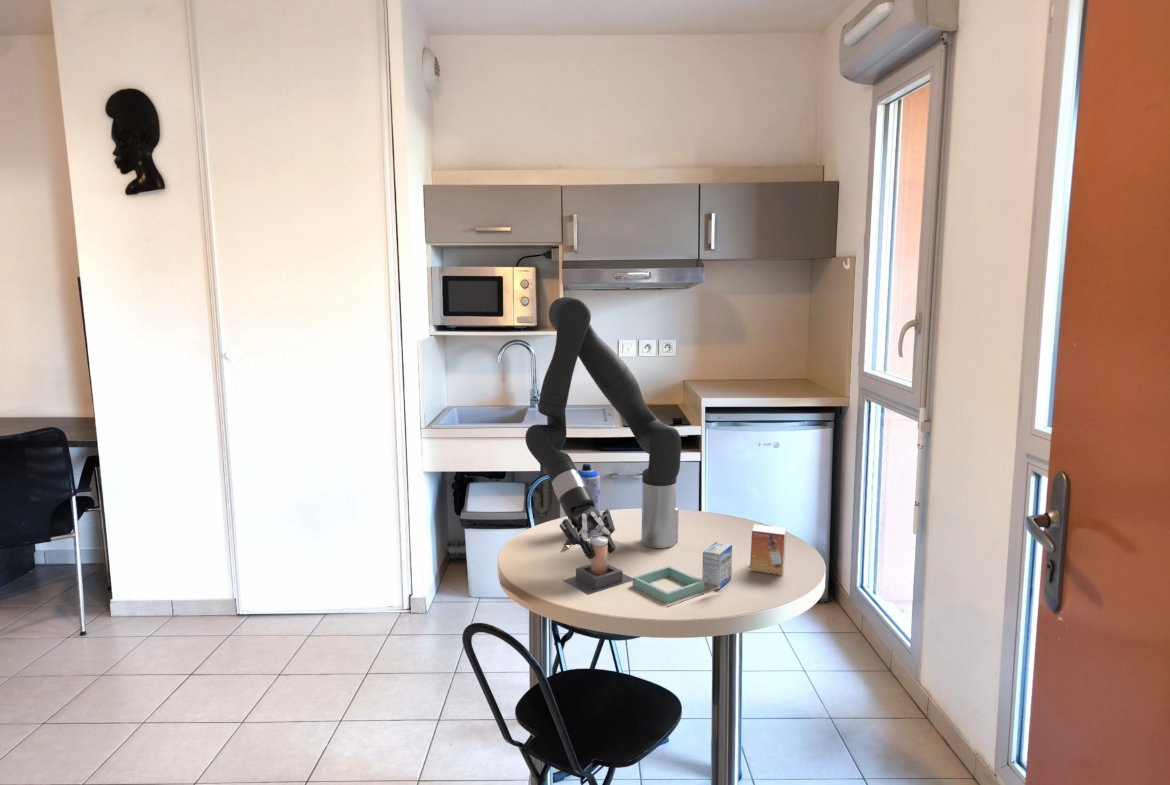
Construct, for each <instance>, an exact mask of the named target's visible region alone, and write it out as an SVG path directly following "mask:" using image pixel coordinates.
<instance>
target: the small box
mask: <svg viewBox="0 0 1170 785" xmlns="http://www.w3.org/2000/svg"><path fill="white" fill-rule="evenodd" d="M750 538H751V541H750V560H749V561H750V562H749V571H751V572H758V573H765V574H770V573H772V575H776V574H780V575H779V576H783V574H784V570H785V564H786V562H785V560H786V542H787V527H781V526H780V527H779V526H771V525H770V526H769V525H762V524H754V525H753V527H752V530H751V537H750Z"/></svg>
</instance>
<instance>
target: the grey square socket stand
mask: <svg viewBox="0 0 1170 785" xmlns="http://www.w3.org/2000/svg"><path fill="white" fill-rule="evenodd" d="M562 582H564V583H566V584H568V585H569V586H572V587H573V588H575V589H577V590H579V591H581V592H582V593H584V594H586V595H588V596H590V595H593V594H595V593H598V592H601V591H604V590H607V589H610V588H614V587H617V586H620V585H624V584H626V583H630V582H633V577H631V576H629V575H627V574H625V573H623V571H622V570H621V569H619V568H617V567H615V566H612V565H611V564H608V569H607V573H606V574H603V575H600V576H596V575H594V574H592V573H591V572H590V564H587V565H584V566H580V567H576V568H575V576H572V577H569V578H566V579H562Z"/></svg>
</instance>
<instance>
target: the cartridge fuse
mask: <svg viewBox="0 0 1170 785" xmlns="http://www.w3.org/2000/svg"><path fill="white" fill-rule="evenodd" d="M589 542H590V544H591V546H592V548H593V550H594V552H595V556H594V557H593V558H592V559H589V561H590V564H589V565H590V572H591V573H592V574H594V575H596V576H600V575H603V574H606V573H607V569H608V562H609V561H608V555H609V553H608V538H606V537H603V536H599V535H598V536H595V537H592V538H589Z"/></svg>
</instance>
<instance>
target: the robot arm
mask: <svg viewBox="0 0 1170 785" xmlns="http://www.w3.org/2000/svg"><path fill="white" fill-rule="evenodd" d="M591 314H592V313H591V310H590V308H589V306H588V304H587V303H585V302H584V301H582V300H581V299H579V298H574V297H569V296H564V297H563V296H562V297H559V298H556V299H555V300H553V302H552V303H551V304H550V306H549V309H548V318H549V320H548V321H549V322H550V325H551V327H552V328H553V329H554V330H555V331H556V339H555V346H554V351H553V354H552V356H551V357H552V358H551V360H550V363H549V365H548V368H547V369H546V373H545V374H544V378H543V381H542V385H541V389H540V395H539V400H538V406H537V410H538V413H540V414H541V415H543V416H546V419H547V420H546V421H547V422H546V423H547V424H539V423H538V424H533V425H531V426H529V427H528V428H527V430H526V432H525V435H524V436H525V439H524V440H525V445H526V447H527V449H528V450H529V452H530V454H532V456H533V457H534V459H535V460H536V461H537V463H538V464H539V465H540V466H541V467H542V468H543V469H544V470H545V472H546V474H547V477H548V478H549V480H550V482H551V485H552V488H553V492H554V493H555V496H556V498H557V500H558V501H559V504H560V505H561V508H562V510H563V512H564V514H565V517H567V518H564V519H563V520H562V522H560V523H559V528H560V529H561V531H562V533H563V534H564V535H565V537H566V538H567V539H569V541H570V542H571V546H572V545H573V546H575V545H579V546H580V547H581V549H582V551H583V553H584V556H585V557H586V558H588V559H589V560H590V559H592V558H593V557H594V556H595V552H594V550H593V548H592V546H591V544H590V540H588V538H587V531H588V530H589V531H591V530H592V531H593V532H594V533H595V534H598V536H603V537H606V538H608V555H609V554H610V555H611V554H613V553H614V552H615V551H616V544H615V542H614V541H613V539H612V536H611V535H612V534H613V533H614V532H615V531H616V529H615V525H614V522H613V521H614V520H613V518H612V515H611V512H610V510H609V509H608V508H607V509H605V510H603V511H601V510H600V511H598V510H597V509H596V508H595V506H594V501H593V499H592V497H591V495H590V493H589V491H588V489H587V487H586V485H585V483H584V481H583V479H582V477H581V476H580V474H579V473H578V470H577V468H576V465H575V463H574V462H573V460H572V458H571V456H570V455H569V454H568V453H567V452H563V451H561V449H563V447H564V446H565V443H566V440H567V418H566V417H567V416H566V409H567V404H568V400H569V395H570V388H571V384H572V381H573V374H574V373H575V369H576V368H575V367H576V363H577V360H578V358H579V360H580V361H581V364H583V366H584V368H585V371H587V373H588V374H589V375H590V377H591V379H592V380H593V382H594V383H595V385H596V386H597V388H598V389H599V390H600V391H601V393H602V395H604V397H605V398H606V399H607V401H608V402H609V404H610V405H611V406H612V407H613V408H614V409H615V410H616V412H617V413H618V414H619V415H620V416H621V417H622V418H623V420H624V422H626V424H627V426H628V427H629V428H628V429H630V432H632V434H633V437H634V439H635V440H636V442H637V444H638V445H639V447H640V448H641V449H642V450H643V451H644V452H645V453H646V454H648V457H649V458H648V466H647V468H645V469H644V470H643V471H642V474H641V475H642V476H641V477H642V478H641V481H642V482H641V483H642V484H641V544H642V545H643V546H646V547H648V548H655V549H667V548H671V547H673V546H674V545H676V543H678V542H679V508H678V507H677V478H678V475H679V473H680V468H681V455H682V439H681V435H680V433H679V431H678V430H677V429H676V428H675V427H674V426H671V425H669V424H667V423H664V422H662V421H661V420H660V419H659V418H657V416H656V415H655V414H654V413H653V412H652V411H651V409H650V408H649V406H648V405H647V403H646V402H645V399H644V398H643V394H642V391H641V388H640V386H639V383H638V381H637V379H636V377H635V375H634V374H633V373H632V371H631V370H630V368H629V367H628V366H627V364H626V362H624V360H623V359H622V357H620V356H619V355H618V354H617V353H616V352H615V351H614V350H613V348H611V347H610V346H609V345H608V344H607V343H606V342H605V341H604V340H602V338H601V337H600V336H599V335H598V333H597V332H596V330H594V328H593V326H592V325H591V320H592V319H591V318H592V316H591ZM599 517H600V519H599ZM597 525H598V526H599V527H598V528H597ZM573 526H574V527H576V531H575V530H574V528H573Z"/></svg>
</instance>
